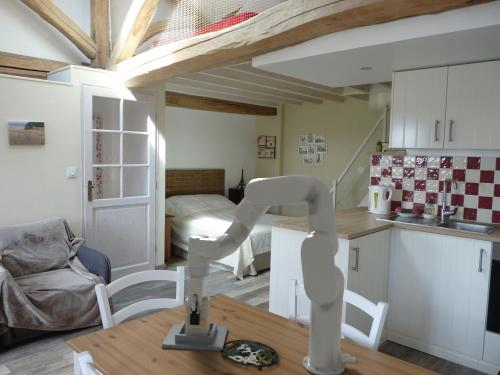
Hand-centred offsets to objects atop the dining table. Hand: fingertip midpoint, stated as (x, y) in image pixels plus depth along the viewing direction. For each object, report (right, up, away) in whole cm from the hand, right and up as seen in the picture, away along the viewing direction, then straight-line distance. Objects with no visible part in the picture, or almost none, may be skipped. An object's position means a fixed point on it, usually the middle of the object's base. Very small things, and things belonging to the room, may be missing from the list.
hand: (197, 319), depth 140 cm
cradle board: (0, -7, 0) cm, 7 cm away
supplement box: (0, -6, 0) cm, 6 cm away
